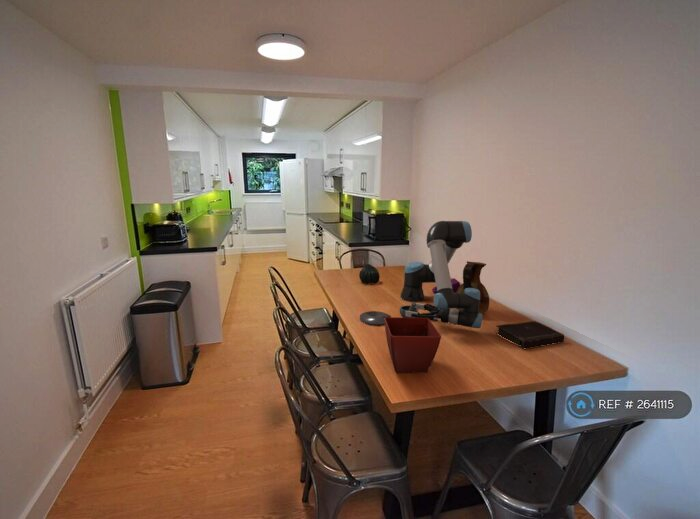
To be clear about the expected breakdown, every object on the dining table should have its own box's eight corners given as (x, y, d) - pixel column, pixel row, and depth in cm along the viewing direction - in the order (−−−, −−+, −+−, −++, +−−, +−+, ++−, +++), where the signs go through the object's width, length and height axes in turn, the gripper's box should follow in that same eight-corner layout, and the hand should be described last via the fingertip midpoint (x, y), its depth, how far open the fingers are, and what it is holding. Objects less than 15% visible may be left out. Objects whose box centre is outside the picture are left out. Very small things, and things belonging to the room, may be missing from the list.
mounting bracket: (438, 303, 231) (463, 292, 230) (434, 292, 229) (459, 281, 228) (434, 299, 240) (458, 288, 239) (430, 288, 238) (454, 278, 238)
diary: (563, 344, 163) (565, 334, 161) (523, 351, 154) (524, 341, 153) (531, 328, 180) (533, 319, 179) (493, 334, 171) (494, 324, 170)
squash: (380, 279, 244) (379, 261, 251) (359, 280, 244) (359, 261, 252) (379, 288, 256) (378, 270, 264) (359, 288, 257) (359, 270, 264)
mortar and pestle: (396, 318, 189) (397, 297, 186) (411, 316, 191) (412, 295, 189) (405, 325, 178) (407, 304, 176) (421, 324, 181) (423, 302, 178)
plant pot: (426, 353, 149) (428, 317, 146) (438, 377, 131) (442, 336, 127) (382, 353, 149) (384, 316, 145) (388, 377, 130) (390, 336, 126)
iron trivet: (379, 311, 197) (379, 309, 197) (397, 322, 183) (397, 319, 182) (353, 316, 189) (354, 314, 188) (371, 328, 174) (371, 325, 174)
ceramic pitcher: (493, 312, 201) (499, 262, 194) (479, 321, 186) (485, 268, 180) (461, 303, 214) (466, 256, 207) (446, 311, 199) (450, 261, 193)
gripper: (445, 332, 164) (402, 324, 173) (452, 314, 186) (414, 308, 195) (446, 317, 163) (402, 309, 171) (453, 301, 185) (415, 295, 193)
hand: (408, 309), depth 183 cm, fingers open, 13 cm apart
